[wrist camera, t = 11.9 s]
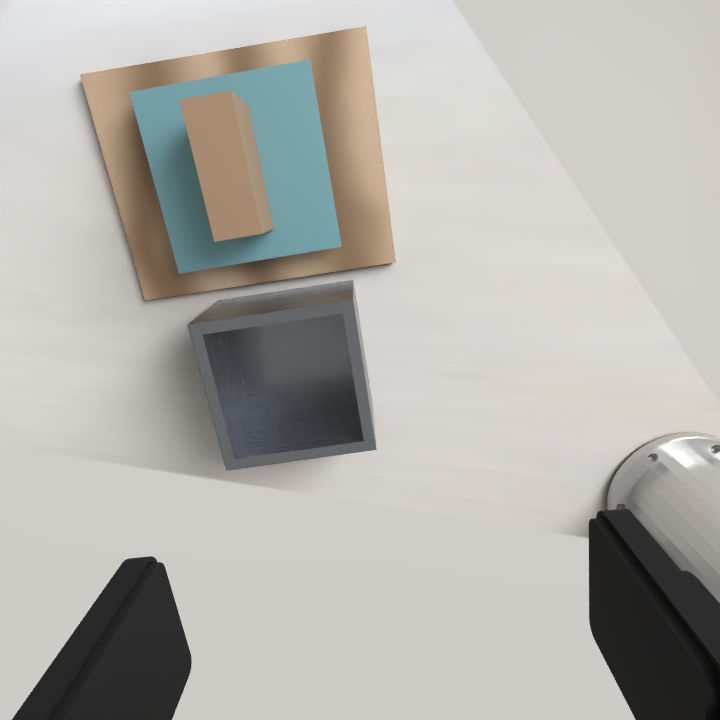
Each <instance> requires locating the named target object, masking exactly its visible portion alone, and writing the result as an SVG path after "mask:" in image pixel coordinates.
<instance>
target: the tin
mask: <svg viewBox="0 0 720 720" xmlns="http://www.w3.org/2000/svg"><path fill="white" fill-rule="evenodd" d="M188 328H189V332H190V336H191V340H192V344H193V347H194V351H195V355H196V359H197V362H198V366H199V370H200V374H201V377H202V381H203V385H204V389H205V393H206V396H207V400H208V404H209V408H210V411H211V415H212V419H213V423H214V426H215V430H216V434H217V438H218V442H219V445H220V449H221V453H222V457H223V460H224V464H225V468H226V471H227V470H234V469H241V468H248V467H255V466H263V465H270V464H277V463H284V462H291V461H298V460H306V459H313V458H320V457H327V456H334V455H341V454H349V453H356V452H363V451H370V450H376V439H375V428H374V417H373V406H372V399H371V393H370V386H369V380H368V373H367V367H366V360H365V354H364V347H363V341H362V334H361V328H360V321H359V315H358V308H357V302H356V295H355V289H354V282H353V280H351V281H344V282H337V283H331V284H324V285H318V286H311V287H304V288H298V289H291V290H285V291H278V292H271V293H265V294H258V295H252V296H245V297H238V298H232V299H225V300H219V301H217V302H216V303H215V304H214V305H212V306H211V307H210V308H208V309H207V310H206V311H205V312H203V313H202V314H201V315H199V316H198V317H197V318H196V319H194V320H193V321H192V322H190V323H189V324H188Z"/></svg>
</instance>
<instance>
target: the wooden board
mask: <svg viewBox="0 0 720 720" xmlns="http://www.w3.org/2000/svg"><path fill="white" fill-rule="evenodd" d="M309 59H310V62H311V67H312V73H313V79H314V85H315V91H316V97H317V102H318V108H319V114H320V120H321V126H322V132H323V138H324V144H325V150H326V156H327V162H328V168H329V173H330V179H331V185H332V191H333V197H334V203H335V209H336V215H337V221H338V227H339V233H340V239H341V244H342V246H341V247H337V248H331V249H325V250H319V251H313V252H307V253H301V254H295V255H289V256H283V257H277V258H271V259H264V260H258V261H252V262H246V263H240V264H234V265H228V266H222V267H216V268H210V269H204V270H198V271H192V272H186V273H180V274H179V272H178V268H177V264H176V261H175V257H174V253H173V250H172V246H171V242H170V239H169V235H168V231H167V228H166V224H165V220H164V217H163V213H162V210H161V206H160V202H159V199H158V195H157V191H156V188H155V184H154V180H153V177H152V173H151V169H150V166H149V162H148V158H147V155H146V151H145V147H144V144H143V140H142V136H141V133H140V129H139V125H138V122H137V118H136V115H135V111H134V107H133V104H132V100H131V96H130V93H129V92H132V91H138V90H143V89H149V88H154V87H160V86H165V85H171V84H176V83H182V82H187V81H193V80H199V79H204V78H210V77H215V76H221V75H226V74H232V73H237V72H243V71H248V70H254V69H259V68H265V67H270V66H276V65H282V64H287V63H293V62H298V61H304V60H309ZM80 77H81V80H82V84H83V87H84V91H85V94H86V97H87V101H88V104H89V108H90V111H91V115H92V118H93V122H94V125H95V129H96V132H97V136H98V139H99V143H100V146H101V150H102V153H103V156H104V160H105V163H106V167H107V170H108V174H109V177H110V181H111V184H112V188H113V191H114V195H115V198H116V202H117V205H118V209H119V212H120V215H121V219H122V222H123V226H124V229H125V233H126V236H127V240H128V243H129V247H130V250H131V254H132V257H133V261H134V264H135V268H136V271H137V274H138V278H139V281H140V285H141V288H142V292H143V295H144V299H145V300H151V299H158V298H165V297H171V296H178V295H184V294H191V293H197V292H204V291H211V290H217V289H224V288H230V287H237V286H243V285H250V284H257V283H263V282H270V281H276V280H283V279H289V278H296V277H303V276H309V275H316V274H322V273H329V272H335V271H342V270H348V269H355V268H362V267H368V266H375V265H381V264H388V263H394V262H396V261H395V253H394V245H393V237H392V229H391V221H390V213H389V205H388V197H387V189H386V181H385V173H384V165H383V157H382V149H381V141H380V133H379V125H378V117H377V109H376V101H375V93H374V85H373V77H372V70H371V62H370V54H369V46H368V38H367V30H366V26H365V27H359V28H353V29H347V30H342V31H336V32H330V33H324V34H318V35H312V36H306V37H300V38H294V39H288V40H282V41H276V42H270V43H265V44H259V45H253V46H247V47H241V48H235V49H229V50H223V51H217V52H211V53H205V54H199V55H193V56H188V57H182V58H176V59H170V60H164V61H158V62H152V63H146V64H140V65H134V66H128V67H122V68H117V69H111V70H105V71H99V72H93V73H87V74H81V75H80Z"/></svg>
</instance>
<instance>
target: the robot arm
mask: <svg viewBox="0 0 720 720" xmlns="http://www.w3.org/2000/svg"><path fill="white" fill-rule="evenodd" d="M607 509H608V510H604V511H599V512H598V513H597V518H596V519H591V520H590V521H589V620H590V626H591V631H592V634H593V637H594V639H595V641H596V643H597V645H598V647H599V649H600V651H601V653H602V655H603V657H604V659H605V661H606V663H607V665H608V666H609V669H610V670H611V672H612V674H613V676H614V678H615V680H616V682H617V684H618V686H619V688H620V690H621V692H622V694H623V696H624V698H625V700H626V701H627V703H628V705H629V707H630V709H631V711H632V713H633V715H634V717H635V719H636V720H720V439H717V438H715V437H713V436H710V435H706V434H701V433H679V434H672V435H668V436H665V437H662V438H659V439H656V440H654V441H652V442H650V443H648V444H646V445H645V446H643V447H642V448H640V449H639V450H637V451H636V452H634V453H633V454H632V455H631V456H630V457H629V458H628V459H627V460H626V461H625V462H624V463H623V464H622V466H621V467H620V468H619V470H618V471H617V472H616V474H615V476H614V478H613V480H612V482H611V485H610V488H609V492H608V498H607ZM190 670H191V654H190V650H189V647H188V644H187V640H186V637H185V633H184V630H183V627H182V623H181V620H180V617H179V614H178V610H177V607H176V603H175V600H174V596H173V593H172V590H171V586H170V583H169V579H168V576H167V573H166V569H165V567H164V565H163V563H160V562H159V563H158V562H157V560H156V559H155V558H154V557H141V558H131V559H127V560H125V561H124V562H123V563H122V564H121V566H120V567H119V569H118V570H117V571H116V573H115V574H114V576H113V577H112V578H111V580H110V581H109V583H108V584H107V585H106V587H105V588H104V590H103V591H102V593H101V594H100V595H99V597H98V598H97V600H96V601H95V602H94V604H93V605H92V607H91V608H90V610H89V611H88V613H87V614H86V616H85V617H84V618H83V620H82V621H81V622H80V624H79V625H78V627H77V628H76V629H75V631H74V632H73V634H72V635H71V637H70V638H69V639H68V641H67V642H66V644H65V645H64V647H63V648H62V650H61V651H60V652H59V654H58V655H57V657H56V658H55V659H54V661H53V662H52V664H51V665H50V666H49V668H48V669H47V671H46V672H45V674H44V675H43V676H42V678H41V679H40V681H39V682H38V684H37V685H36V686H35V688H34V689H33V691H32V692H31V693H30V695H29V696H28V698H27V699H26V700H25V702H24V703H23V705H22V706H21V708H20V709H19V710H18V712H17V713H16V715H15V716H14V718H13V719H12V720H172V718H173V715H174V713H175V710H176V707H177V705H178V702H179V700H180V697H181V695H182V692H183V690H184V687H185V684H186V682H187V679H188V677H189V674H190Z"/></svg>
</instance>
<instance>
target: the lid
mask: <svg viewBox="0 0 720 720" xmlns="http://www.w3.org/2000/svg"><path fill="white" fill-rule="evenodd" d="M129 93H130V96H131V100H132V104H133V107H134V111H135V115H136V118H137V122H138V125H139V129H140V133H141V136H142V140H143V144H144V147H145V151H146V155H147V158H148V162H149V166H150V169H151V173H152V177H153V180H154V184H155V188H156V191H157V195H158V199H159V202H160V206H161V210H162V213H163V217H164V220H165V224H166V228H167V231H168V235H169V239H170V242H171V246H172V250H173V253H174V257H175V261H176V264H177V268H178V272H179V274H180V273H186V272H192V271H198V270H204V269H210V268H216V267H222V266H228V265H234V264H240V263H246V262H252V261H258V260H264V259H271V258H277V257H283V256H289V255H295V254H301V253H307V252H313V251H319V250H325V249H331V248H337V247H341V246H342V244H341V239H340V233H339V227H338V221H337V215H336V209H335V203H334V197H333V191H332V185H331V179H330V173H329V168H328V162H327V156H326V150H325V144H324V138H323V132H322V126H321V120H320V114H319V108H318V102H317V97H316V91H315V85H314V79H313V73H312V67H311V62H310V59H309V60H304V61H298V62H293V63H287V64H282V65H276V66H270V67H265V68H259V69H254V70H248V71H243V72H237V73H232V74H226V75H221V76H215V77H210V78H204V79H199V80H193V81H187V82H182V83H176V84H171V85H165V86H160V87H154V88H149V89H143V90H138V91H132V92H129Z"/></svg>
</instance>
